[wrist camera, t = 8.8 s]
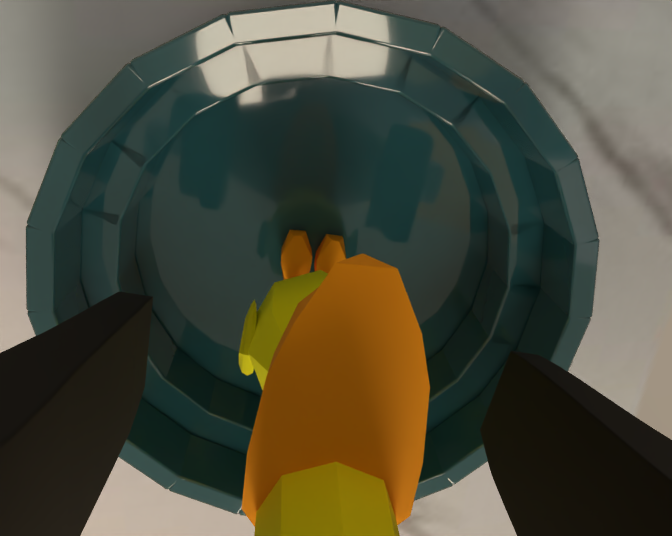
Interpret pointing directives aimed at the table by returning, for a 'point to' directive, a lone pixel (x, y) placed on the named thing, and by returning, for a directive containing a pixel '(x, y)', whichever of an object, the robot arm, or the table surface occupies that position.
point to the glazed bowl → (313, 218)
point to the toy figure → (334, 396)
